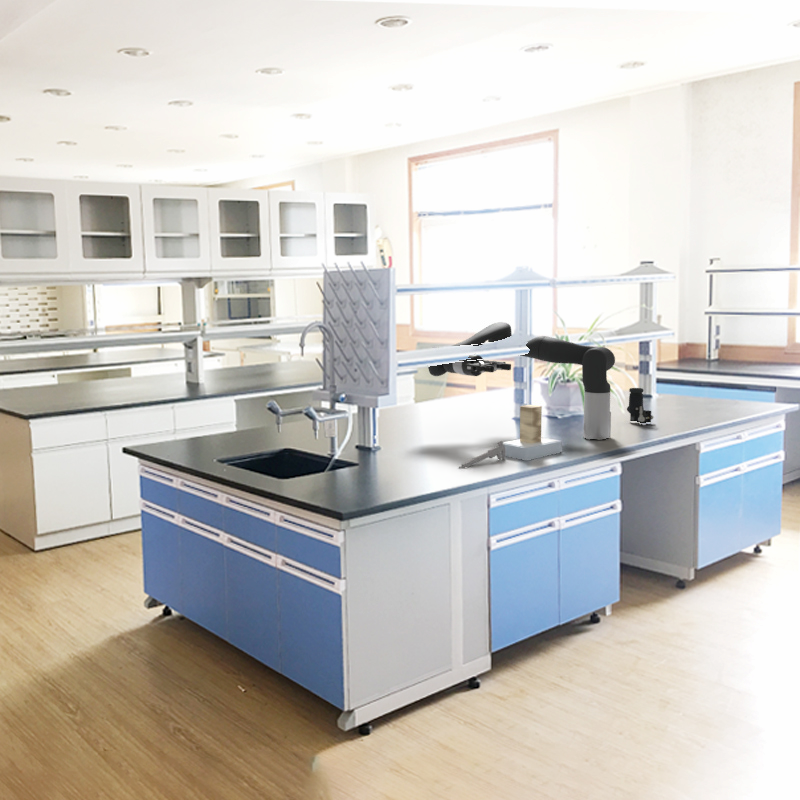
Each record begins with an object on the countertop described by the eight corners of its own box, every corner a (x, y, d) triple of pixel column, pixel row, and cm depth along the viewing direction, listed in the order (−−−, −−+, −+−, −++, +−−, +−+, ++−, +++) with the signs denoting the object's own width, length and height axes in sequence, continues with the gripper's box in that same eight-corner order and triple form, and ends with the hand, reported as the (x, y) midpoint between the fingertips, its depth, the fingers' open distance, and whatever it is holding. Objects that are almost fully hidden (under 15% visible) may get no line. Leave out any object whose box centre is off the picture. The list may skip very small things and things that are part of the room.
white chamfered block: (534, 447, 295) (534, 435, 294) (561, 452, 286) (561, 440, 285) (499, 454, 283) (499, 442, 282) (526, 460, 274) (526, 447, 273)
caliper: (503, 459, 278) (503, 440, 277) (505, 460, 277) (505, 441, 276) (458, 469, 265) (458, 449, 264) (460, 469, 264) (460, 449, 263)
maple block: (529, 439, 287) (530, 404, 285) (541, 441, 283) (541, 406, 281) (519, 441, 284) (520, 406, 282) (531, 443, 280) (531, 407, 278)
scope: (642, 391, 330) (621, 388, 338) (641, 426, 332) (620, 422, 340) (655, 389, 335) (634, 386, 343) (654, 423, 337) (633, 420, 345)
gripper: (454, 355, 297) (487, 358, 285) (482, 353, 306) (516, 355, 294) (454, 377, 298) (487, 380, 286) (482, 373, 307) (515, 377, 295)
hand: (502, 368), depth 290 cm, fingers open, 8 cm apart
